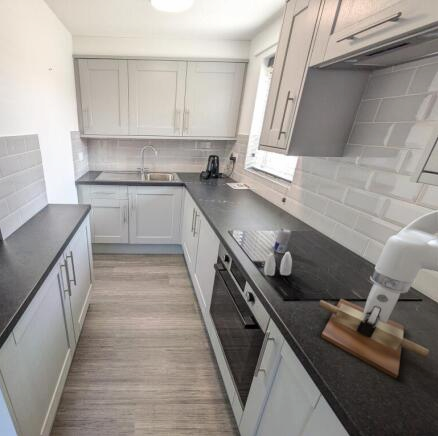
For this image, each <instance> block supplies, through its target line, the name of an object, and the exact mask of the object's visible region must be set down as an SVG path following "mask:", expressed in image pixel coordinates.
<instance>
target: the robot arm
mask: <svg viewBox="0 0 438 436" xmlns="http://www.w3.org/2000/svg"><path fill="white" fill-rule="evenodd" d="M437 233H438V209H437V210H433V211H431V212H428V213H425V214H423V215H421V216H419V217H418V218H415V220H413V221H412V222H410V223H409V224H407V225H406V226H404V227H403V228H402V229H401V230H399V232H398V233H397V234H394V235H391V236H390V237H388V239H387V241H386V242H385V245H384V247H383V249H382V251H381V253H380V255H379V258H378V260H377V262H376V264H375V267H374V269H373V271H372V273H371V275H370V276H369V279H370V281H371V282H372V283H373V284H372V286H371V288H370V291H369V293H368V296H367V298H366V302H365V305H364V314H365V317H364V319H363V321H362V320H361V322H360V324H359V326H358V329H357V332H359V333H361V334H363V335H365V336H367V337H369V338H371V336H372V335H373V333H374V331H375V329H376V325H377V323H378V321H379V319H380V321H381V322H383V323H387V321H388V319H389V318H390V316H391V314H392V313H393V310H394V308H395V307H396V305H397V302H398V300H399V299H400V296H401V294H405V293H408V292H409V290H410V289H411V287H412V284H413V283H414V281H415V279H416V278H417V276H418V274H419V272H420V270H422V269H424V270H429V271H434V272H438V236H437V235H435V234H437ZM367 317H369V319H367Z"/></svg>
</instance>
